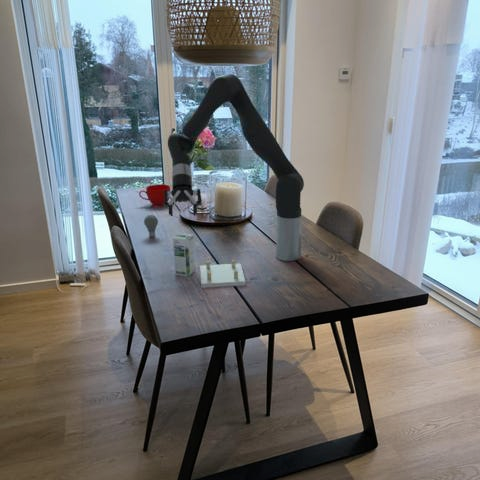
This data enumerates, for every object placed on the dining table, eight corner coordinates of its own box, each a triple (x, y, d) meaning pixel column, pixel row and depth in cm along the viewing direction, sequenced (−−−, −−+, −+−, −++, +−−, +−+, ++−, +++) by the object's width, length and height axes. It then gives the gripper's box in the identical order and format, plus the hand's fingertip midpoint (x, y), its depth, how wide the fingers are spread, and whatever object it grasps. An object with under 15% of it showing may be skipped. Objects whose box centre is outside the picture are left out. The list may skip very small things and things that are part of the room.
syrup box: (174, 275, 157) (172, 237, 152) (181, 268, 162) (179, 232, 157) (189, 277, 155) (187, 239, 150) (195, 270, 160) (194, 233, 155)
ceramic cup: (139, 203, 244) (137, 186, 240) (169, 200, 249) (168, 183, 245) (141, 209, 232) (139, 191, 229) (173, 206, 237) (171, 189, 234)
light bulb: (145, 239, 191) (143, 217, 187) (144, 234, 196) (143, 213, 193) (159, 238, 192) (158, 216, 189) (158, 233, 198) (156, 212, 194)
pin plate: (240, 267, 163) (240, 257, 162) (245, 285, 149) (245, 274, 148) (200, 269, 162) (199, 259, 160) (201, 287, 148) (200, 277, 146)
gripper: (162, 173, 166) (163, 211, 160) (200, 172, 167) (202, 209, 161) (164, 183, 173) (164, 220, 166) (200, 182, 174) (202, 218, 168)
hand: (183, 214), depth 164 cm, fingers open, 8 cm apart
